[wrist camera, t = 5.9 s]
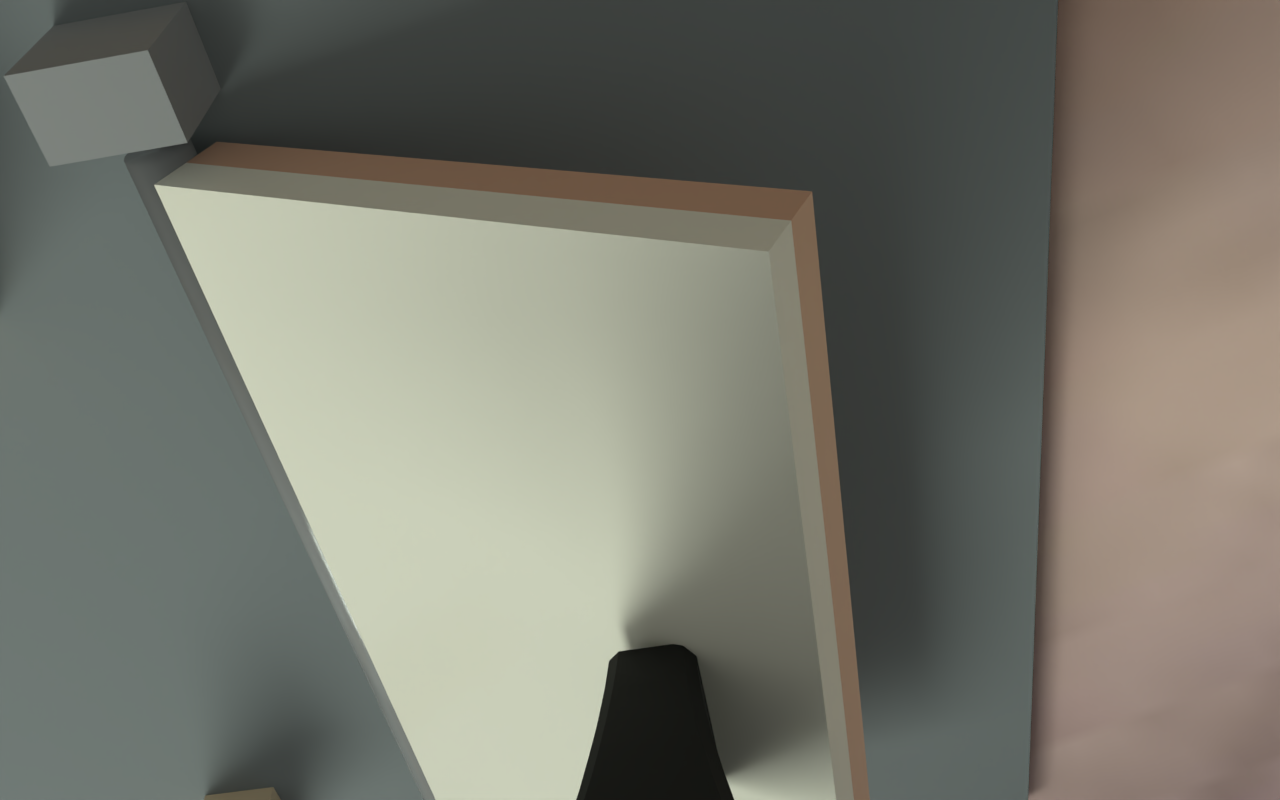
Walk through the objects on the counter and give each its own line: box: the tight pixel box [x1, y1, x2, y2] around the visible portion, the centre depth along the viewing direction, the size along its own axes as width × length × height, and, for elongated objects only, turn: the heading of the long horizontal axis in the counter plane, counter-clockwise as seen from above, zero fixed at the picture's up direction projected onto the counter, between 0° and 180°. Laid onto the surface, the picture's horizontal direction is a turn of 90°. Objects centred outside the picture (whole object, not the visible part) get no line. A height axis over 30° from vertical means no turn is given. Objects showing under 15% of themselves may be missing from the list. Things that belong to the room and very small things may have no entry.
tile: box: [124, 139, 870, 800], centre depth 13 cm, size 11×6×1 cm, turn 10°
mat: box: [0, 0, 1058, 800], centre depth 13 cm, size 15×16×4 cm
